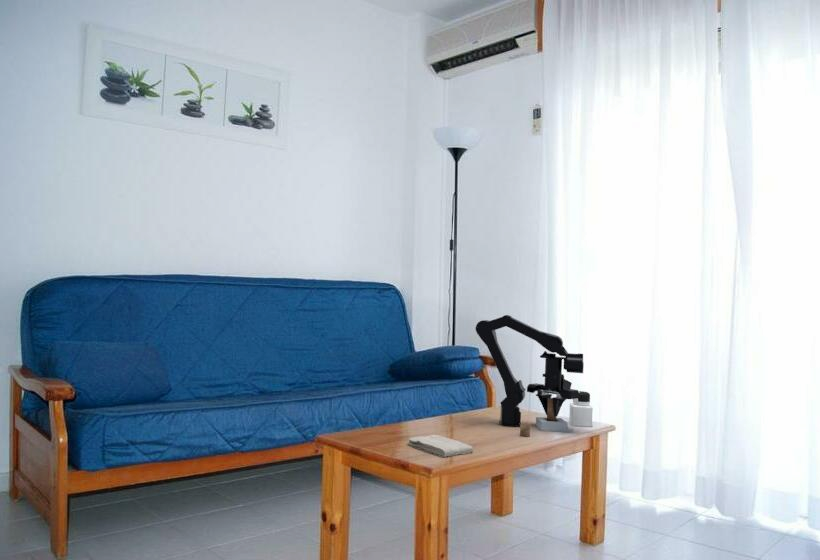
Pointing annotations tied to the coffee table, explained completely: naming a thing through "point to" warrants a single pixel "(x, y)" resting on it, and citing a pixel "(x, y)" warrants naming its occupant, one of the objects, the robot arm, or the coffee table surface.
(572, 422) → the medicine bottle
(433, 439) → the washcloth
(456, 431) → the coffee table surface
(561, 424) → the collar block
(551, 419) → the long dowel
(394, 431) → the coffee table surface
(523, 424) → the short stub
